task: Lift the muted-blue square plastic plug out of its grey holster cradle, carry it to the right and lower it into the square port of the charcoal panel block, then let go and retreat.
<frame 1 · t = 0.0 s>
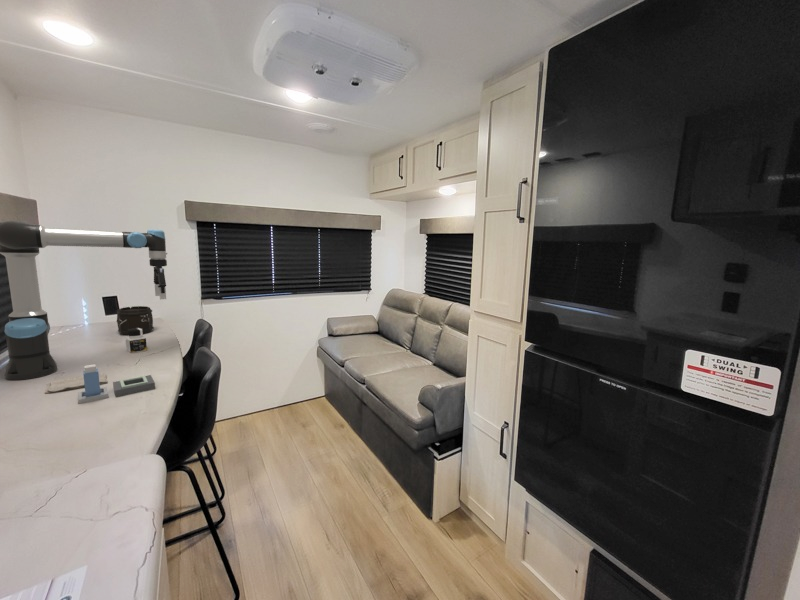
hand: (160, 297, 182), 28 cm above the counter, fingers open, 13 cm apart
washcloth: (78, 388, 133), on the counter
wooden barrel: (135, 332, 210), on the counter
holster: (93, 399, 123), on the counter
plug: (93, 396, 123), point 1 cm above the counter, touching holster
medicine bottle: (136, 350, 177), on the counter
port block: (134, 390, 131), on the counter
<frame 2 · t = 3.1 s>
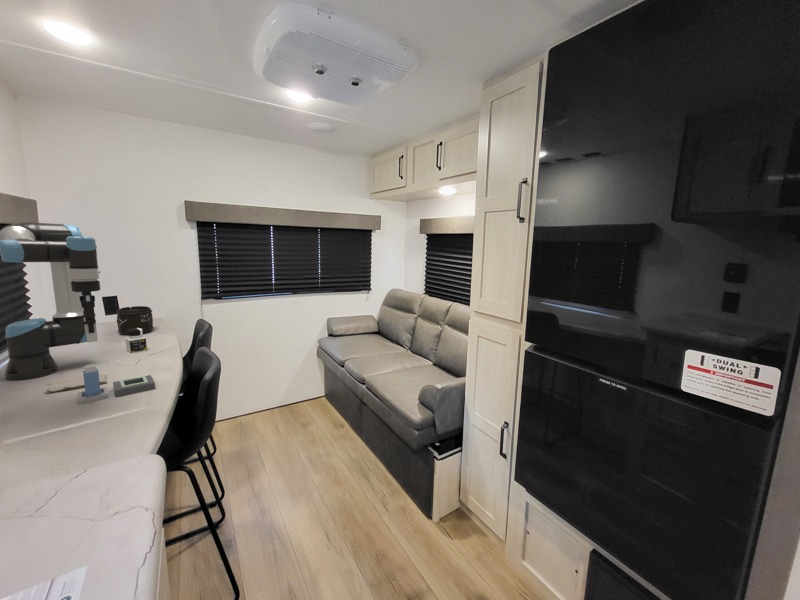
hand: (91, 337, 121), 23 cm above the counter, fingers open, 13 cm apart
nothing on the counter moved.
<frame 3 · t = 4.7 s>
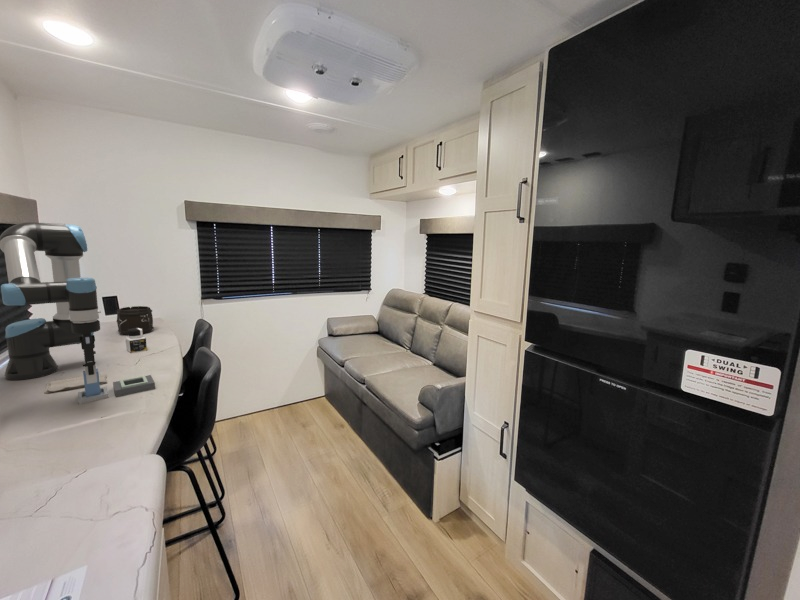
hand: (91, 377, 121), 9 cm above the counter, fingers open, 13 cm apart
nothing on the counter moved.
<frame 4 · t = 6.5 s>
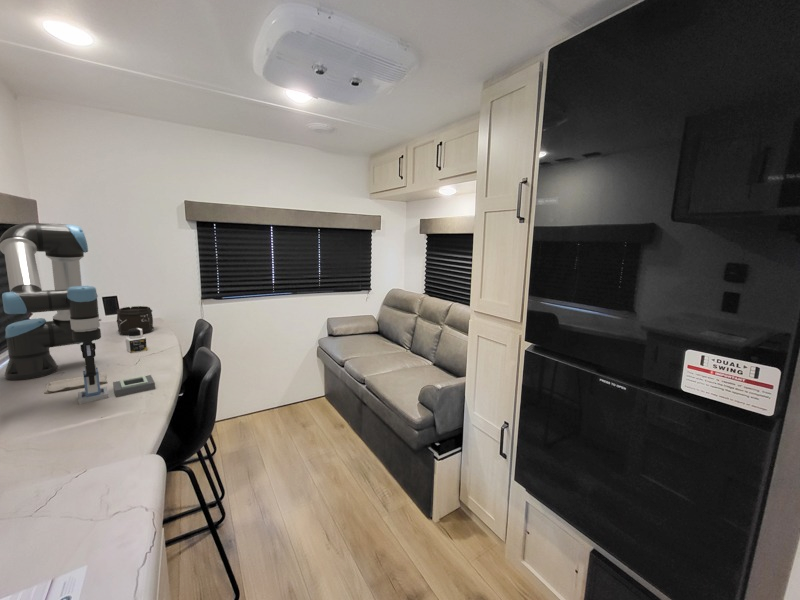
hand: (92, 390, 122), 4 cm above the counter, fingers closed on plug, 4 cm apart
plug: (93, 396, 123), point 1 cm above the counter, touching gripper
everything else where it was.
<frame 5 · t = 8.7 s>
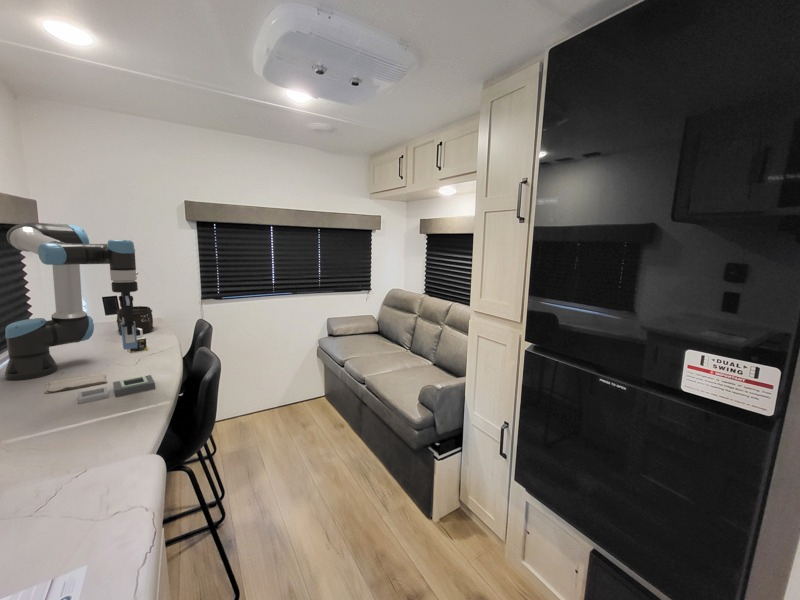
hand: (129, 340, 128), 21 cm above the counter, fingers closed on plug, 4 cm apart
plug: (130, 347, 128), point 18 cm above the counter, touching gripper
everything else where it was.
when the fingers open (5 cm above the counter, at t = 11.1 s): plug drops 3 cm, resting in port block.
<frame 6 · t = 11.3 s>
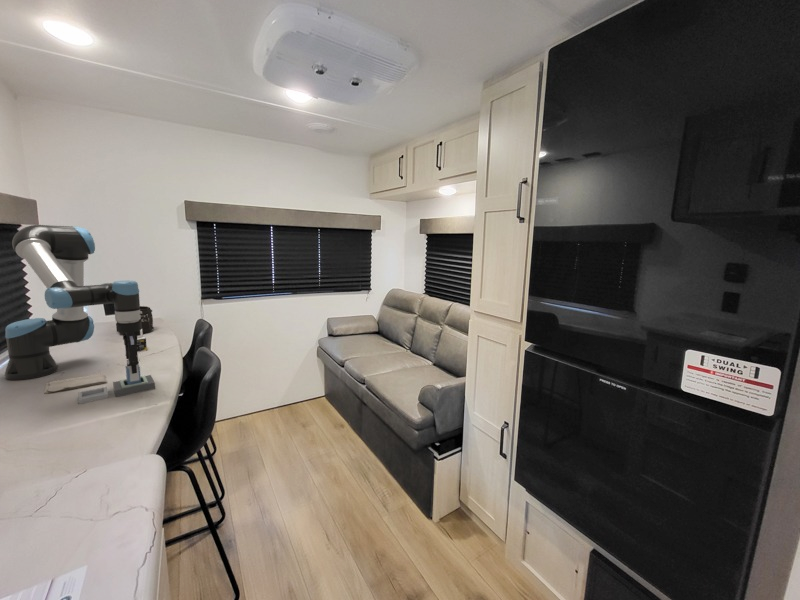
hand: (133, 377, 130), 5 cm above the counter, fingers open, 7 cm apart
plug: (134, 390, 131), resting in port block
everything else where it was.
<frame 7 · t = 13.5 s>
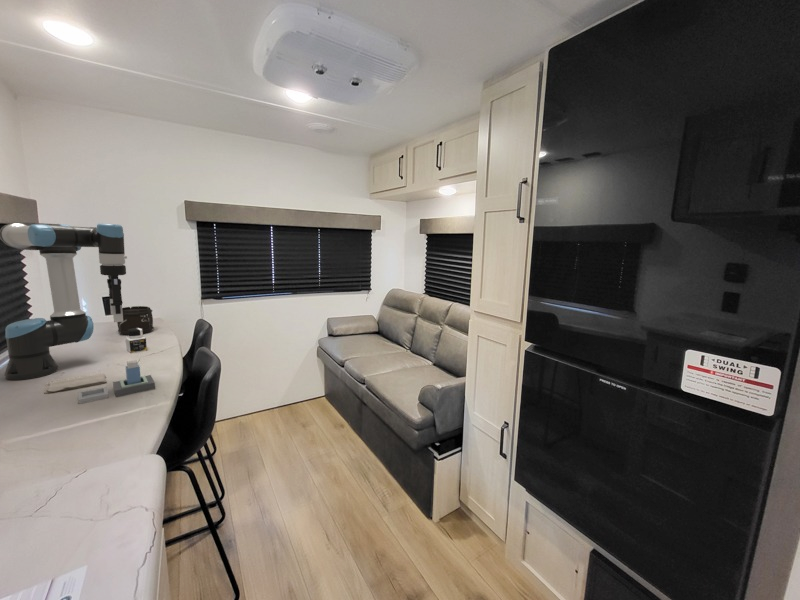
hand: (116, 318, 131), 28 cm above the counter, fingers open, 13 cm apart
nothing on the counter moved.
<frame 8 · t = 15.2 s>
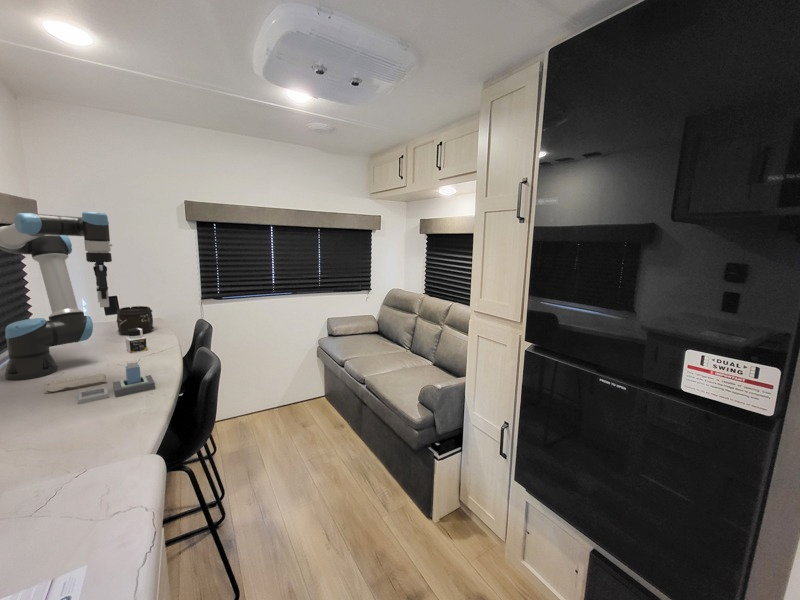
hand: (103, 304, 134), 33 cm above the counter, fingers open, 13 cm apart
nothing on the counter moved.
at the end: plug 0.0 cm off-centre on the port block, point 0.0 cm above the port block's base; plug tilted 0°; the gripper is holding nothing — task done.
